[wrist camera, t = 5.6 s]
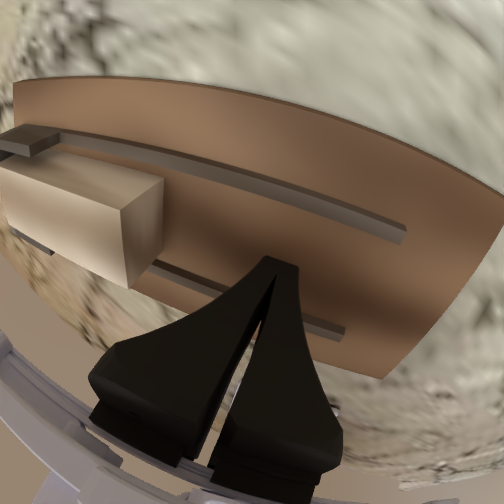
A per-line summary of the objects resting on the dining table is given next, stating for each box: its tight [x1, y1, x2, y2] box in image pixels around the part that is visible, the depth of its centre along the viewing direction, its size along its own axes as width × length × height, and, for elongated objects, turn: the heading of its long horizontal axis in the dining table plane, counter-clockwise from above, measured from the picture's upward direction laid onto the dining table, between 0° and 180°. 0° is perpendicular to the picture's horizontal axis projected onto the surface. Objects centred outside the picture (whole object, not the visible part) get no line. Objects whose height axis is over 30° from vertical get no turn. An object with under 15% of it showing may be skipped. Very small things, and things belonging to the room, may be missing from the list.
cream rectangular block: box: [0, 148, 164, 290], centre depth 13 cm, size 4×10×3 cm, turn 78°
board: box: [0, 76, 504, 379], centre depth 12 cm, size 12×26×3 cm, turn 78°
